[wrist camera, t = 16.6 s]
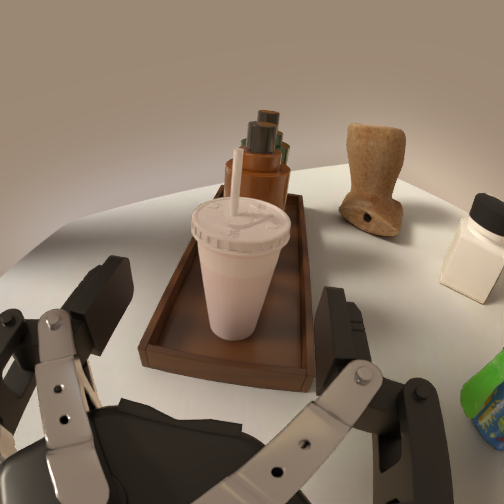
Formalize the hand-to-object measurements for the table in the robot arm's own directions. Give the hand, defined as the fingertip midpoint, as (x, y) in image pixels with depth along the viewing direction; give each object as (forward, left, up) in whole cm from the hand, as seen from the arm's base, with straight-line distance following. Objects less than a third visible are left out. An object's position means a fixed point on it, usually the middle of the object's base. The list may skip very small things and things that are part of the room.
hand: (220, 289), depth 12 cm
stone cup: (-4, +39, -11) cm, 41 cm away
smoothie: (-4, +7, -11) cm, 13 cm away
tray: (-10, +15, -11) cm, 21 cm away
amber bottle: (-10, +15, -10) cm, 21 cm away
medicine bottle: (+14, +32, -11) cm, 37 cm away
